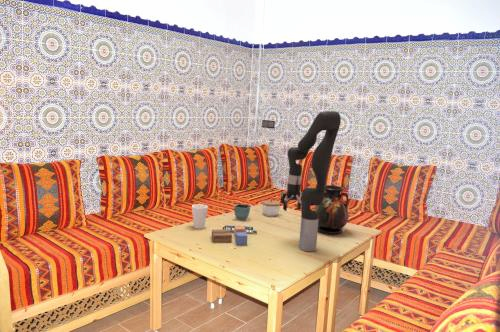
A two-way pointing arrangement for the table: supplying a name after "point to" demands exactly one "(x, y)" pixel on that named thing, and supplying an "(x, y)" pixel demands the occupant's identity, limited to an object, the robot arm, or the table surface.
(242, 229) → the terracotta block
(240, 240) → the blue block
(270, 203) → the lidded bowl
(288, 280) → the table surface
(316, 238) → the robot arm
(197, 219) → the foam cup
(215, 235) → the plinth
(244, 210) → the flower pot
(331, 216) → the amphora vase
